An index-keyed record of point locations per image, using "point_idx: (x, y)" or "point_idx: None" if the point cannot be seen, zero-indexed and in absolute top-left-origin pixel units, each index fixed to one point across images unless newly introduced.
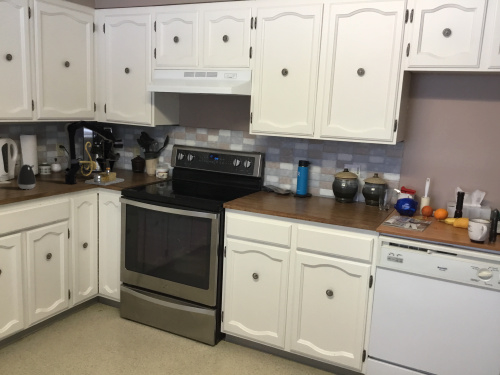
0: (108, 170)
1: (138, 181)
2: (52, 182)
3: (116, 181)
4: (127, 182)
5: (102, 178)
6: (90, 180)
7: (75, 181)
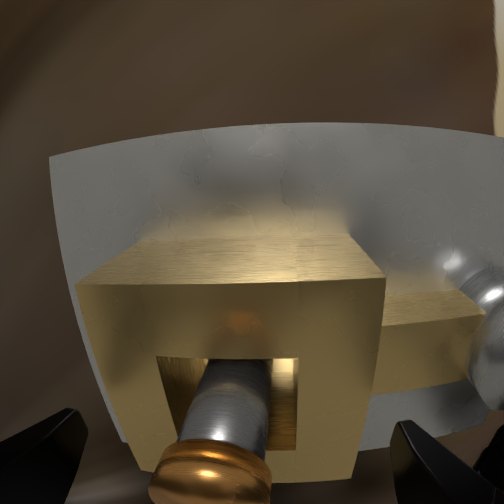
0: (239, 431)
1: (17, 23)
2: None
3: (261, 126)
4: (133, 33)
5: (449, 309)
6: (452, 410)
7: (501, 446)
